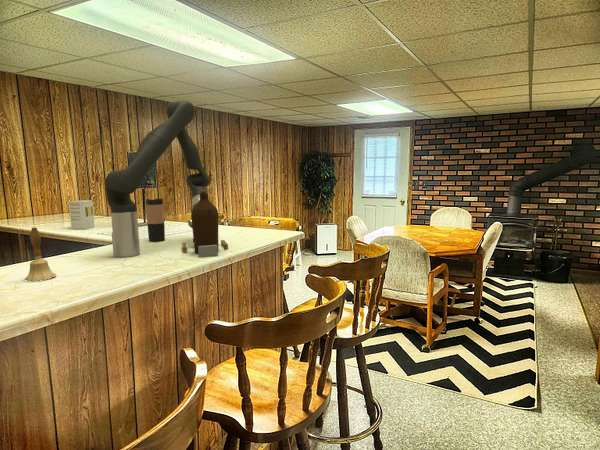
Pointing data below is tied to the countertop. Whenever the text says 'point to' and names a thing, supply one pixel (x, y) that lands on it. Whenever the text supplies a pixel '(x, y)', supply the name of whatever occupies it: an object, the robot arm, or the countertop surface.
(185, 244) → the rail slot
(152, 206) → the travel mug
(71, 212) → the supplement box
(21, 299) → the countertop surface
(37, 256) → the hand bell
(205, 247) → the block
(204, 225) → the olive oil
